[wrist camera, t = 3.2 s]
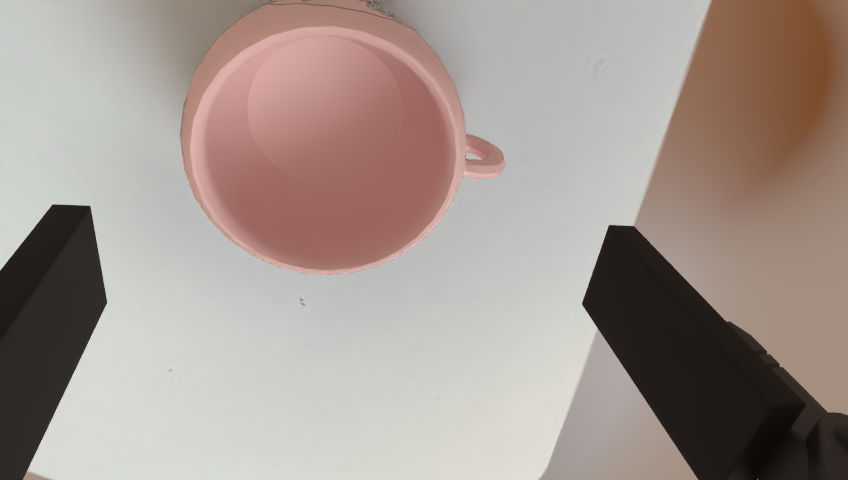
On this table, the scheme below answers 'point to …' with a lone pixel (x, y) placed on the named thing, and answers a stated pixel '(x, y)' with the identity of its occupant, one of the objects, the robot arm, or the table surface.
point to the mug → (326, 136)
